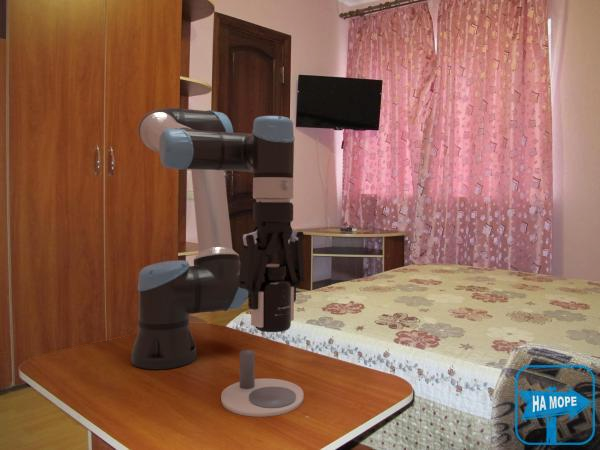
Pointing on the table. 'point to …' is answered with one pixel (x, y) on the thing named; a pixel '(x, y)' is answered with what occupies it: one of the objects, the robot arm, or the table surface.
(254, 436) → the table surface
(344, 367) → the table surface
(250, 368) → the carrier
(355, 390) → the table surface
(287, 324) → the supplement bottle
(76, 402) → the table surface
